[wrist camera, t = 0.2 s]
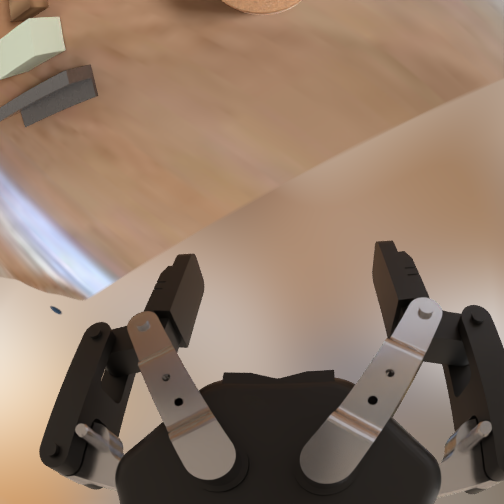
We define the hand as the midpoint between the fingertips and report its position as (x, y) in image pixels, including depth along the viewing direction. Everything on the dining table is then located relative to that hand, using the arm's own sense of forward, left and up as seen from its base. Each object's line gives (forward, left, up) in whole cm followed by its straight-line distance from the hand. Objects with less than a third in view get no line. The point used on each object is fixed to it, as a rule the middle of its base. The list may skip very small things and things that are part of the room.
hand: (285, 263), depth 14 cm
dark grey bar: (-11, -33, -29) cm, 45 cm away
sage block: (-21, -33, -29) cm, 48 cm away
